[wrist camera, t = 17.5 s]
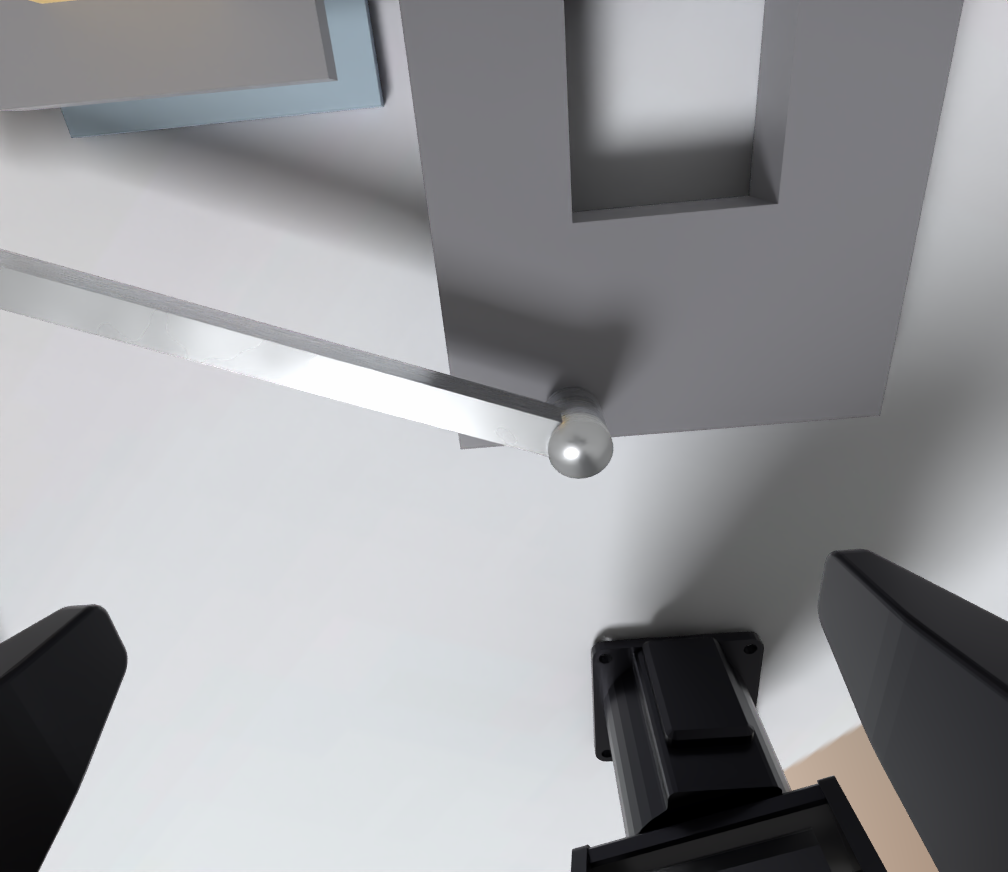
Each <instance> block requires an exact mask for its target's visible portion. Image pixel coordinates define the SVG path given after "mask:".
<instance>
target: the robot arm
mask: <svg viewBox="0 0 1008 872" xmlns="http://www.w3.org/2000/svg"><path fill="white" fill-rule="evenodd" d="M818 614H819V619H820V622H821V625H822V628H823V630H824V633H825V635H826V637H827V640H828V642H829V645H830V647H831V650H832V652H833V654H834V657H835V659H836V662H837V664H838V667H839V669H840V671H841V674H842V676H843V679H844V681H845V684H846V686H847V688H848V691H849V693H850V696H851V698H852V701H853V703H854V705H855V708H856V710H857V713H858V715H859V718H860V720H861V723H862V725H863V727H864V729H865V731H866V734H867V736H868V738H869V741H870V743H871V745H872V747H873V749H874V750H875V753H876V755H877V757H878V759H879V760H880V762H881V765H882V766H883V768H884V770H885V772H886V774H887V776H888V778H889V779H890V781H891V783H892V785H893V787H894V789H895V791H896V792H897V794H898V796H899V798H900V800H901V802H902V804H903V806H904V807H905V809H906V811H907V813H908V815H909V817H910V819H911V820H912V822H913V824H914V826H915V828H916V830H917V831H918V833H919V835H920V837H921V839H922V841H923V843H924V845H925V846H926V848H927V850H928V852H929V854H930V855H931V857H932V859H933V861H934V863H935V865H936V867H937V868H938V871H939V872H1008V621H1006V620H1004V619H1002V618H1000V617H998V616H996V615H994V614H992V613H990V612H988V611H986V610H984V609H982V608H980V607H978V606H977V605H975V604H973V603H971V602H969V601H967V600H965V599H963V598H961V597H959V596H957V595H955V594H953V593H951V592H949V591H947V590H945V589H943V588H941V587H939V586H938V585H936V584H934V583H932V582H930V581H928V580H926V579H924V578H922V577H920V576H918V575H916V574H914V573H912V572H910V571H908V570H906V569H904V568H902V567H900V566H899V565H897V564H895V563H893V562H891V561H889V560H887V559H885V558H883V557H881V556H879V555H877V554H875V553H873V552H871V551H869V550H865V549H855V550H841V551H834V552H832V553H830V554H829V555H828V557H827V559H826V562H825V567H824V572H823V578H822V583H821V589H820V594H819V600H818ZM749 644H751V645H749ZM747 645H749V646H747ZM763 651H764V646H763V643H762V641H761V639H760V637H759V636H758V634H756V633H754V632H734V633H719V634H705V635H690V636H675V637H661V638H646V639H631V640H617V641H603V642H599V643H597V644H595V645H594V646H593V647H592V649H591V667H592V695H593V722H594V747H595V754H596V757H597V758H598V759H599V760H601V761H613V765H614V770H615V776H616V782H617V788H618V793H619V799H620V805H621V811H622V817H623V822H624V828H625V834H626V838H622V839H619V840H615V841H611V842H608V843H604V844H601V845H597V846H594V847H590V846H589V845H585V846H582V847H578V848H575V849H572V862H571V872H887V870H886V869H885V867H884V865H883V863H882V861H881V860H880V858H879V856H878V854H877V852H876V851H875V849H874V847H873V845H872V843H871V841H870V840H869V838H868V836H867V834H866V832H865V831H864V829H863V827H862V825H861V823H860V821H859V820H858V818H857V816H856V814H855V812H854V810H853V809H852V807H851V805H850V803H849V801H848V800H847V798H846V796H845V794H844V792H843V791H842V789H841V787H840V785H839V784H838V782H837V780H836V778H835V776H830V777H827V778H823V779H820V780H817V782H818V784H815V785H811V786H808V787H804V788H800V789H797V790H793V791H792V790H791V788H790V786H789V784H788V781H787V779H786V777H785V774H784V772H783V770H782V767H781V765H780V763H779V760H778V758H777V756H776V754H775V751H774V749H773V747H772V744H771V742H770V740H769V737H768V735H767V733H766V731H765V728H764V726H763V724H762V721H761V719H760V717H759V714H758V712H757V710H756V703H757V696H758V688H759V681H760V673H761V666H762V658H763ZM603 654H608V655H605V656H601V655H603ZM126 668H127V652H126V649H125V647H124V645H123V643H122V641H121V639H120V637H119V635H118V632H117V630H116V628H115V626H114V624H113V622H112V620H111V618H110V616H109V614H108V612H107V611H106V610H105V609H104V608H103V607H101V606H99V605H95V604H91V605H77V606H68V607H64V608H62V609H60V610H58V611H56V612H54V613H52V614H51V615H49V616H47V617H46V618H44V619H42V620H40V621H39V622H37V623H35V624H33V625H32V626H30V627H28V628H26V629H25V630H23V631H21V632H20V633H18V634H16V635H14V636H13V637H11V638H9V639H7V640H6V641H4V642H2V643H1V644H0V872H39V870H40V868H41V866H42V864H43V862H44V860H45V858H46V856H47V854H48V852H49V850H50V848H51V846H52V844H53V842H54V840H55V838H56V836H57V834H58V832H59V830H60V828H61V826H62V824H63V822H64V820H65V818H66V816H67V814H68V812H69V810H70V807H71V805H72V803H73V801H74V799H75V797H76V795H77V793H78V790H79V788H80V786H81V783H82V781H83V779H84V776H85V774H86V771H87V769H88V766H89V764H90V761H91V759H92V756H93V754H94V751H95V749H96V746H97V744H98V741H99V738H100V736H101V733H102V731H103V728H104V726H105V723H106V721H107V718H108V716H109V713H110V710H111V708H112V705H113V703H114V700H115V698H116V695H117V693H118V690H119V688H120V685H121V682H122V680H123V677H124V675H125V672H126Z"/></svg>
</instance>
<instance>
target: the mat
mask: <svg viewBox="0 0 1008 872" xmlns="http://www.w3.org/2000/svg"><path fill="white" fill-rule="evenodd" d="M324 4H325V10H326V16H327V21H328V27H329V33H330V38H331V44H332V50H333V55H334V61H335V67H336V72H337V78H338V81H330V82H320V83H309V84H299V85H288V86H278V87H268V88H257V89H247V90H236V91H226V92H215V93H205V94H195V95H184V96H174V97H163V98H153V99H143V100H132V101H122V102H111V103H101V104H90V105H80V106H70V107H60V108H61V110H62V113H63V116H64V119H65V121H66V124H67V127H68V130H69V132H70V135H71V138H81V137H91V136H101V135H110V134H120V133H130V132H140V131H149V130H159V129H169V128H179V127H188V126H198V125H208V124H218V123H227V122H237V121H247V120H257V119H267V118H276V117H286V116H296V115H306V114H315V113H325V112H335V111H345V110H354V109H364V108H374V107H384V103H383V96H382V90H381V84H380V77H379V71H378V64H377V58H376V52H375V45H374V39H373V32H372V26H371V20H370V13H369V7H368V0H324Z"/></svg>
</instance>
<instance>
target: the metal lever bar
mask: <svg viewBox="0 0 1008 872" xmlns="http://www.w3.org/2000/svg"><path fill="white" fill-rule="evenodd" d="M0 309H2V310H5V311H9V312H13V313H16V314H20V315H24V316H28V317H31V318H35V319H39V320H42V321H46V322H50V323H53V324H57V325H61V326H65V327H68V328H72V329H76V330H79V331H83V332H87V333H91V334H94V335H98V336H102V337H105V338H109V339H113V340H117V341H120V342H124V343H128V344H131V345H135V346H139V347H142V348H146V349H150V350H154V351H157V352H161V353H165V354H168V355H172V356H176V357H180V358H183V359H187V360H191V361H194V362H198V363H202V364H206V365H209V366H213V367H217V368H220V369H224V370H228V371H232V372H235V373H239V374H243V375H246V376H250V377H254V378H257V379H261V380H265V381H269V382H272V383H276V384H280V385H283V386H287V387H291V388H295V389H298V390H302V391H306V392H309V393H313V394H317V395H321V396H324V397H328V398H332V399H335V400H339V401H343V402H347V403H350V404H354V405H358V406H361V407H365V408H369V409H372V410H376V411H380V412H384V413H387V414H391V415H395V416H398V417H402V418H406V419H410V420H413V421H417V422H421V423H424V424H428V425H432V426H436V427H439V428H443V429H447V430H450V431H454V432H458V433H462V434H465V435H469V436H473V437H476V438H480V439H484V440H487V441H491V442H495V443H499V444H502V445H506V446H510V447H513V448H517V449H521V450H525V451H528V452H532V453H536V454H539V455H543V456H547V457H549V459H550V462H551V464H552V465H553V467H554V468H555V469H556V470H557V471H558V472H559V473H561V474H562V475H565V476H567V477H570V478H577V479H580V478H587V477H591V476H594V475H596V474H598V473H599V472H601V471H602V470H603V469H604V468H605V467H606V466H607V465H608V463H609V462H610V460H611V457H612V454H613V442H612V439H611V436H610V433H609V430H608V427H607V425H606V422H605V419H604V416H603V413H602V410H601V407H600V404H599V402H598V400H597V398H596V397H595V396H594V395H593V394H592V393H591V392H590V391H588V390H586V389H584V388H580V387H566V388H562V389H560V390H558V391H556V392H555V393H553V394H552V395H551V396H550V397H549V399H548V400H547V401H546V402H543V401H539V400H536V399H532V398H528V397H525V396H521V395H518V394H514V393H511V392H507V391H504V390H500V389H497V388H493V387H489V386H486V385H482V384H479V383H475V382H472V381H468V380H465V379H461V378H457V377H454V376H450V375H447V374H443V373H440V372H436V371H433V370H429V369H426V368H422V367H418V366H415V365H411V364H408V363H404V362H401V361H397V360H394V359H390V358H386V357H383V356H379V355H376V354H372V353H369V352H365V351H362V350H358V349H355V348H351V347H347V346H344V345H340V344H337V343H333V342H330V341H326V340H323V339H319V338H315V337H312V336H308V335H305V334H301V333H298V332H294V331H291V330H287V329H284V328H280V327H276V326H273V325H269V324H266V323H262V322H259V321H255V320H252V319H248V318H245V317H241V316H237V315H234V314H230V313H227V312H223V311H220V310H216V309H213V308H209V307H205V306H202V305H198V304H195V303H191V302H188V301H184V300H181V299H177V298H174V297H170V296H166V295H163V294H159V293H156V292H152V291H149V290H145V289H142V288H138V287H134V286H131V285H127V284H124V283H120V282H117V281H113V280H110V279H106V278H103V277H99V276H95V275H92V274H88V273H85V272H81V271H78V270H74V269H71V268H67V267H64V266H60V265H56V264H53V263H49V262H46V261H42V260H39V259H35V258H32V257H28V256H24V255H21V254H17V253H14V252H10V251H7V250H3V249H0Z"/></svg>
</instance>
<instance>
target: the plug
mask: <svg viewBox="0 0 1008 872" xmlns="http://www.w3.org/2000/svg"><path fill="white" fill-rule="evenodd" d="M330 81H338V78H337V72H336V67H335V61H334V55H333V50H332V44H331V38H330V33H329V27H328V21H327V16H326V10H325V4H324V0H0V110H6V111H28V110H38V109H49V108H59V107H70V106H80V105H90V104H101V103H111V102H122V101H132V100H143V99H153V98H163V97H174V96H184V95H195V94H205V93H215V92H226V91H236V90H247V89H257V88H268V87H278V86H288V85H299V84H309V83H320V82H330Z"/></svg>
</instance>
